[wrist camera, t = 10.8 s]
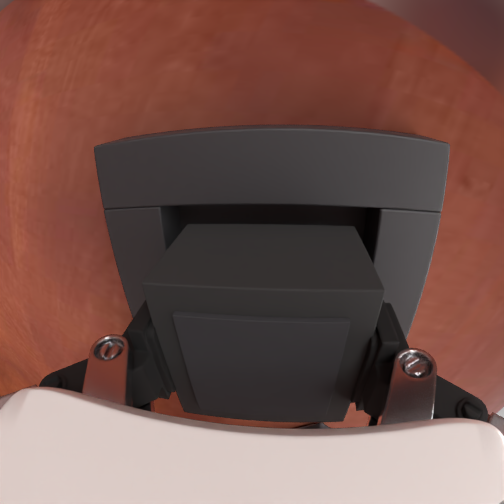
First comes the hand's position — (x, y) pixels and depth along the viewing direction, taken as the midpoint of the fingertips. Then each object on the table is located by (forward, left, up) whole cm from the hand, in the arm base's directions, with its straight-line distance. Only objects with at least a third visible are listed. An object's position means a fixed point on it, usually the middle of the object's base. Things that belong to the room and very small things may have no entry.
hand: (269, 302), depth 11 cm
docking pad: (0, 0, -3) cm, 3 cm away
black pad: (0, 0, -1) cm, 1 cm away
